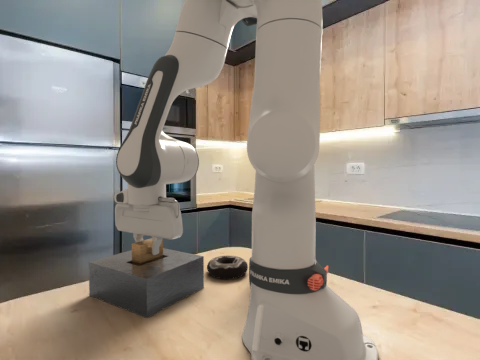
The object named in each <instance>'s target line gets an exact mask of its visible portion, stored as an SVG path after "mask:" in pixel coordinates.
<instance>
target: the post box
mask: <svg viewBox="0 0 480 360" xmlns="http://www.w3.org/2000/svg"><path fill="white" fill-rule="evenodd" d="M204 257H205V256H204V255H198V254H195V253H194V254H193V253H189V252H185V251H179V250H173V249H170V248H169V249H168V248H165V247H163V258H162V259H159V260H156V261H153V262H150V263H147V264H144V265H142V266H138V265H134V264H132V249H131V250H127V251H125V252H124V251H123V252H120V253H116V254H112V255H109V256H106V257H101V258H99V259H98V258H97V259H95V260H91V261H88V285H89V287H88V288H89V291H88V292H89V294H88V296H90V297H93V298H95V299H98V300H100V301H103V302H105V303H108V304H110V305H113V306H115V307H118V308H120V309H122V310H125V311H128V312H131V313H133V314H136V315H138V316H141V317H142V318H143V317H144V318H146V319H148V318H149V317H152V316H154V315H156V314H157V313H159V312H161V311H164V310H165V309H168V307H171V306H172V305H174V304H176V303H179V302H180V301H182V300H184V299H186V298H188V297H189V296H191V295H192V294H194V293H196V292H199V291H200V290H202V289H204V288H205V287H204V286H205V285H204V284H205V280H204V279H205V278H204V277H205V276H204V275H205V274H204V273H205V271H204V268H205V265H204V264H205V263H204V262H205V261H204V259H205V258H204Z"/></svg>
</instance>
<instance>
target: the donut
mask: <svg viewBox="0 0 480 360" xmlns="http://www.w3.org/2000/svg"><path fill="white" fill-rule="evenodd" d="M206 270H207V271H208V272H207V273H208V274H209V275H210V276H212V277H214V278H217V279H221V280H222V279H223V280H234V279H237V278H240V277H242V276H244V275H245V274H246V273H247V271H248V270H249V265H248V262H247V261H246V260H245V259H244V258H242V257H241V256H236V255H220V256H216V257H213V258H212V259H210V260H209V261H208V263H207V265H206Z"/></svg>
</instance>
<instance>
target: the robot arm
mask: <svg viewBox="0 0 480 360" xmlns="http://www.w3.org/2000/svg"><path fill="white" fill-rule="evenodd" d="M322 2H323V0H184V1H183V5H182V7H181V9H180V13H179V16H178V20H177V24H176V27H175V32H174V35H173V36H174V37H173V39H172V43H171V44H170V47H169V49H168V50H167V52H166V53H165V55H164V56H161V57H159V58H158V59H157V60H156V61H155V63H154V64H153V66H152V68H151V70H150V72H149V75H148V78H147V80H146V82H145V86H144V88H143V91H142V93H141V97H140V100H139V101H138V104H137V107H136V110H135V113H134V116H133V118H132V121H131V124H130V128H129V129H128V132H127V134H126V135H125V138H124V139H123V141H122V143H121V144H120V146H119V148H118V150H117V152H116V153H117V154H116V159H115V166H116V169H117V171H118V174H119V175H120V176H121V178H123V180H124V181H125V182H126V183H127V188H126V189H123V190H121V191H119V192H117V193H115V194H114V196H113V197H114V198H113V199H114V202H115V203H116V205H115V206H114V222H115V227H116V229H117V231H119V232H125V233H130V234H133V235H132V236H133V239H134V243H135V242H139V241H143V240H144V236H149V237H151V238H152V241H154V242H153V245H152V247H149V250H150V252H149V253H150V254H152V255H156V254H159V246H160V244H161V242H162V240H163V241H164V239H165V240H170V241H171V240H176V239H179V238H181V237H182V235H183V233H184V226H183V217H182V212H181V210H180V209H181V205H180V203H179V201H178V200H176V198H174V197H167V185H170V184H171V185H172V184H178V183H179V184H180V183H187V182H189V181H191V180H192V179H193V178H194V177H195V176H196V174H197V172H198V170H199V165H200V160H199V154H198V152H197V150H196V148H195V147H194V145H192V144H191V143H189V142H185V141H182V140H179V139H176V138H174V137H172V136H169V135H168V134H166V133H165V132H164V126H165V123H166V121H167V118H168V116H169V114H170V113H169V112H170V110H171V107H172V104H173V102H174V101H175V100H176V99H177V97H178V96H179V95H181V94H183V92H186V91H189V90H192V89H198V88H202V87H205V86H208V85H209V84H211V83H213V82H214V81H215V80H216V79H218V77H219V76H220V74H221V72H222V69H223V67H224V65H225V62H226V59H227V58H226V57H227V53H228V48H229V45H230V41H231V36H232V33H233V30H234V28H235V26H236V24H237V23H238V22H240V21H241V22H242V23H243V25H245V26H247V27H251V26H255V25H256V30H255V53H254V56H255V57H254V58H255V59H254V79H253V80H254V81H253V82H254V83H253V89H252V94H251V95H252V96H251V101H250V102H251V103H250V110H249V118H248V127H247V128H248V130H247V140H246V151H247V152H246V153H247V157H248V161H249V162H250V165H251V166H252V167H253V170H255V177H254V180H255V181H254V190H253V191H254V192H253V202H252V210H251V211H252V212H251V257H250V258H249V259H248V260H249V261H248V262H249V263H248V264H249V265H248V282H249V283H248V284H249V287H250V290H249V291H250V294H249V301H248V310H247V314H246V319H245V324H244V327H243V331H242V334H241V336H242V337H241V338H242V342H243V344H244V346H245V347H246V349H247V350H248V351H249V353H250V356H251V357H250V358H251V360H379V354H378V353H379V352H378V348H377V345H376V343H375V341H374V340H373V339H372V338H371V336H368V335H366V334H363V327H362V323H361V320H360V316H359V313H358V312H357V310H356V309H355V308H354V307H352V306H351V305H350V304H349V303H348V302H347V301H345V299H343V298H342V297H341V296H340V295H339V294H338V293H336V291H334V289H332V288H331V287H330V286H329V285H328V284H327V282H328V274H329V265H326V266H325V267H323V266H322V265H321V264H320V263H319V262H318V261H317V259H316V238H317V237H316V236H317V235H316V233H317V231H316V227H317V225H316V223H317V222H316V221H317V220H316V219H317V217H316V215H317V213H316V212H317V211H316V190H315V189H316V187H315V186H316V184H315V164H316V162H317V159H318V157H319V153H320V140H321V137H320V136H321V133H320V132H321V130H320V128H321V64H322V60H321V59H322V44H323V43H322V40H323V4H322Z"/></svg>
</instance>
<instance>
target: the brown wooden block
mask: <svg viewBox="0 0 480 360" xmlns="http://www.w3.org/2000/svg"><path fill="white" fill-rule="evenodd" d="M153 242H154V241H152V237H150V238H148V239H143V241H139V242H135V241H134V242H132V243H131V250H132V264H134V265H138V266H142V265H144V264H147V263H150V262H153V261H156V260H159V259H162V258H163V248H164V239H163V240H162V242H161V244H160V246H159V254H156V255H152V254H150V253H149V252H150V250H149V247H152V245H153Z"/></svg>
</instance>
